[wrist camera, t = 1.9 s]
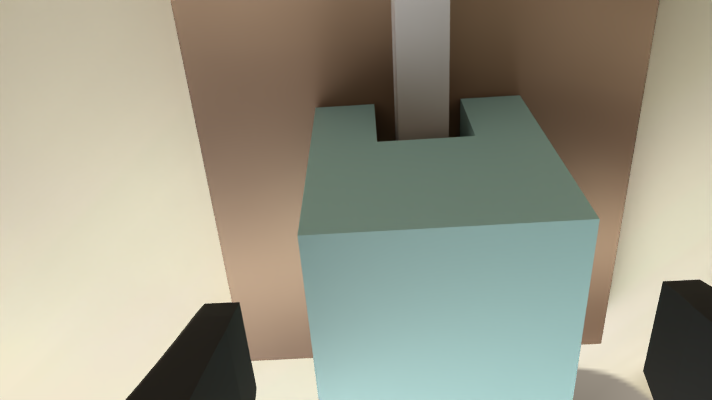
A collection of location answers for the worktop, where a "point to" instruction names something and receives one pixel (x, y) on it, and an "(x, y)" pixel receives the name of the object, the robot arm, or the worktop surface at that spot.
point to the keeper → (444, 259)
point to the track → (397, 113)
